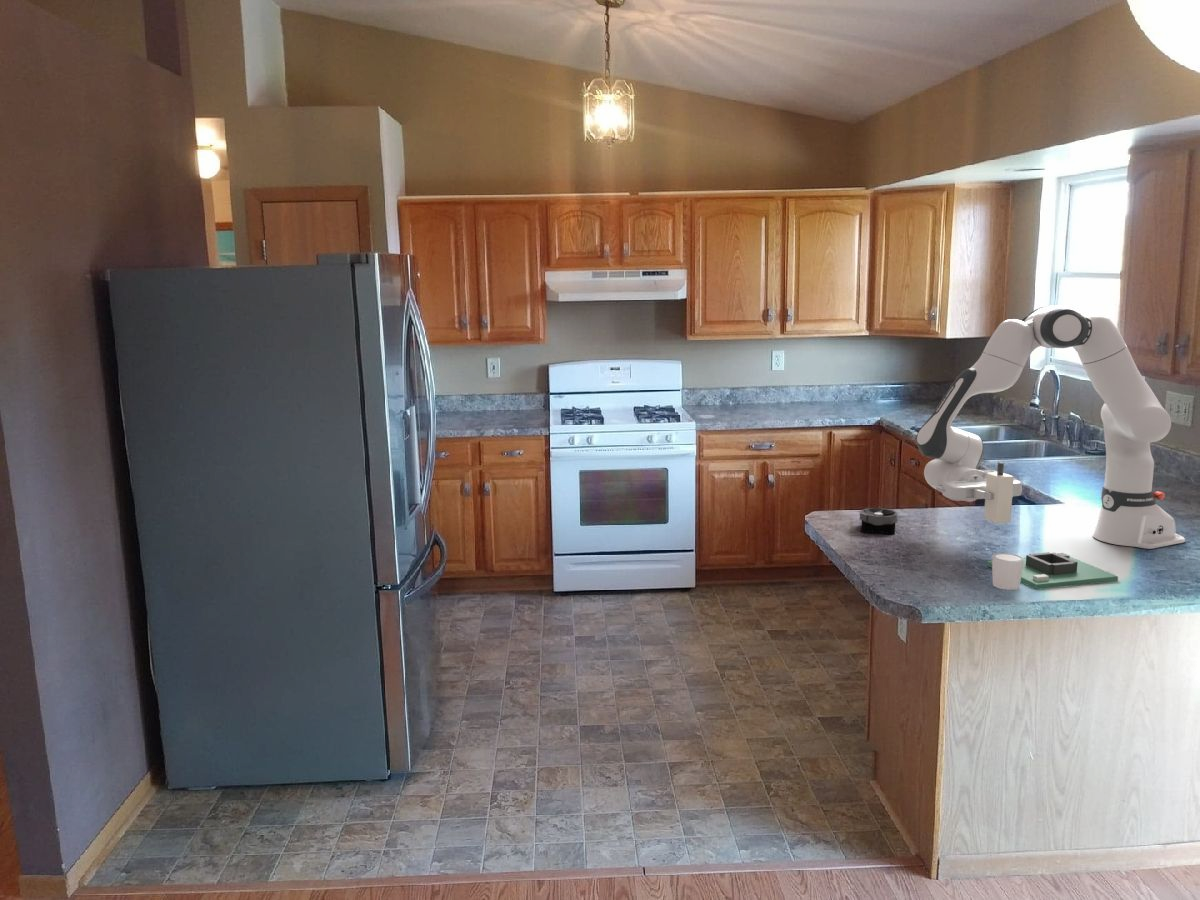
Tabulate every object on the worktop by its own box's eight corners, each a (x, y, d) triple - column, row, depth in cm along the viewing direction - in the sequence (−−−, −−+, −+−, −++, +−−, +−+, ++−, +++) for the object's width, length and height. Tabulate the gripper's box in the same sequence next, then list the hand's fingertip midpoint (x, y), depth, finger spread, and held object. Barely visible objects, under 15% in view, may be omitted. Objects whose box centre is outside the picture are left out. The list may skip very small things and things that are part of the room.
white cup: (985, 586, 207) (987, 557, 205) (997, 578, 211) (998, 550, 210) (1015, 592, 202) (1017, 563, 200) (1026, 585, 206) (1028, 556, 205)
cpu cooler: (897, 508, 256) (898, 517, 247) (896, 527, 258) (897, 536, 248) (860, 506, 260) (859, 514, 250) (859, 524, 261) (859, 534, 251)
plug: (997, 517, 227) (1001, 460, 225) (1010, 522, 223) (1014, 464, 220) (984, 518, 227) (987, 461, 224) (996, 523, 222) (1000, 465, 219)
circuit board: (1063, 558, 226) (1064, 544, 225) (1117, 581, 208) (1119, 566, 208) (987, 565, 221) (988, 551, 220) (1036, 589, 204) (1037, 574, 203)
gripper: (933, 475, 233) (965, 486, 220) (1001, 470, 237) (1036, 481, 224) (932, 498, 234) (963, 511, 221) (1000, 493, 238) (1035, 505, 225)
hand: (1001, 496), depth 222 cm, fingers closed on plug, 4 cm apart
